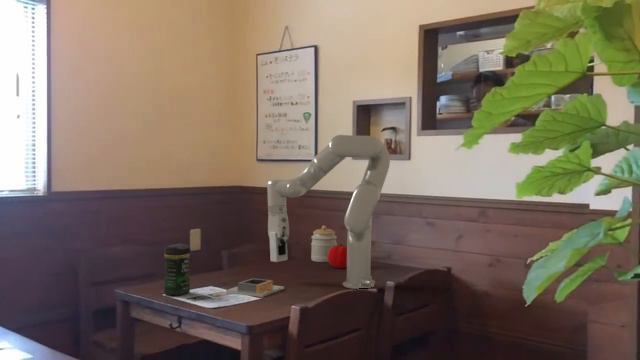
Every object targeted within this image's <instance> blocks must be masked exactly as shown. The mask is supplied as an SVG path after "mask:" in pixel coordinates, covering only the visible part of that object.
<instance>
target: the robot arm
mask: <svg viewBox="0 0 640 360" xmlns="http://www.w3.org/2000/svg"><path fill="white" fill-rule="evenodd" d="M346 158H361V159H362V158H364V159H365V158H366V159H368V163H367V166H366V168H365V172H364V174H363V177H362V180H361V181H360V184H358V185H357V186H356V187H355V189H354V191H353V193H352V196H351V200H350V202H349V204H348V207H347V210H346V212H345V215H344V218H343V219H344V220H343V221H344V222H343V223H344V226H345V228H346V229H347V236H346V238H347V241H346V243H347V244H346V246H347V267H346V280H345V281H343V282H342V286H343V287H344V288H346V289H353V290H360V289H359V288H368V289H372V288H374V287H375V284H376V281H375V280H374V279H373V276H372V275H371V273H372V270H371V268H372V267H371V265H372V263H371V262H372V261H371V260H372V252H371V251H372V231H373V230H372V228H373V218H372V215H373V213H374V212H375V211H374V210H375V208H376V205H377V203H378V201H379V200H380V197H381V193H382V190H383V187H384V185H385V183H386V178H387V175H388V173H389V169H390V164H391V157H390V153H389V150H388V148H387V146H386V145H385V144H384V143H383V142H382V141H381V140H380V139H379V138H377V137H376V136H373V135H352V134H351V135H349V134H348V135H347V134H337V135H334V136H333V137H332V138H331V139H330V141H329V144H327V145H326V146H325V147H324V148H323V149H321V150H320V152H318V153H317V154H315V156H314V157H312V159H311V161H310V163H309V165H308V166H307V167H306V168H305V169H304V170H303V171H302V172H301V173H300V174H298V175H297V176H296V177H295V178H289V179H270V180H268V181H267V183H266V187H267V214H268V219H267V233H268V234H267V236H268V238H269V239H270V237H269V232H276V235H277V238H278V241H279V245H278V255H286V242H287V243H288V240H289V237H290V226H289V225H290V224H289V218H288V217H289V216H288V213H287V198H299V197H301V196H303V195H305V194H306V193H308V191H310V190H311V189H312V188H313V187H315V185H316V184H318V183H319V182H320V181H321V180H322V179H323V178H324V177H326V176H327V174H329V173H330V172H331V171H332V170H333V169H334V168H335V167H336V166H338V165H339V164H340V163H341V162H343V160H346ZM281 236H283V237H281ZM281 239H282V241H281ZM371 287H372V288H371Z"/></svg>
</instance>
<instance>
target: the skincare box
mask: <svg viewBox="0 0 640 360" xmlns="http://www.w3.org/2000/svg"><path fill="white" fill-rule="evenodd" d="M269 237H270V238H269ZM281 237H283V236H281ZM268 238H269V252H270V258H269V259H270V262H273V263H279V262H283V261H288V260H289V259H288V241H287V242H286V255H278V245H279V241H278V238H277V235H276V232H269V236H268ZM281 241H282V239H281Z"/></svg>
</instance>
